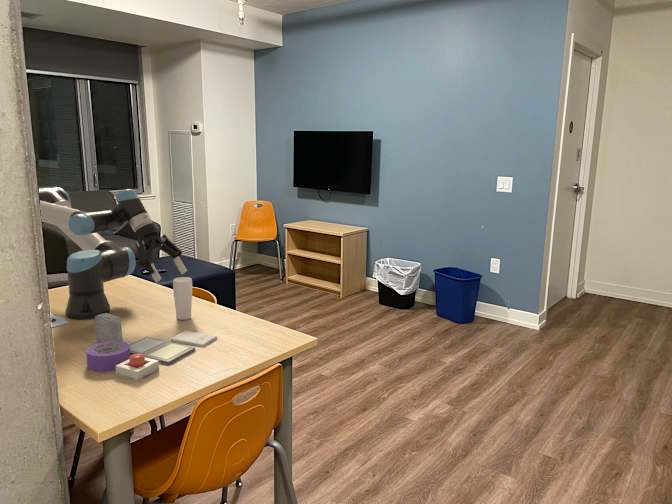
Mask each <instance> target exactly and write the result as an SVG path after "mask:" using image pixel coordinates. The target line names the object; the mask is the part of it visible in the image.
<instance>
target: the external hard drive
mask: <svg viewBox="0 0 672 504" xmlns="http://www.w3.org/2000/svg"><path fill="white" fill-rule="evenodd" d="M217 339H218V336H217V335H211V334H208V333H207V334H205V333H200V332H195V331H189V330H184V331H182V332H180V333H179V334H176V335H175V336H173V337H171V339H170V342H173V343H177V344H182V345H187V346H189V345H190V346H195V347H200V348H205V347H206V346H208V345H209V344H210V343H212V342H214V341H216V340H217Z"/></svg>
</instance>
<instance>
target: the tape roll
mask: <svg viewBox="0 0 672 504" xmlns="http://www.w3.org/2000/svg"><path fill="white" fill-rule="evenodd" d="M129 344H130V343H129V342H126V341H106V342H98V343H95V344H91V346H88V348H86V365H87V369H88V370H89V371H92V372H99V373H106V372H107V373H108V372H114V371H115V372H116V365H118V364H120V363H122V362H124V361H126V360H128V359H129V357H130V356H131V355H130V345H129Z"/></svg>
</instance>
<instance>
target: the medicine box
mask: <svg viewBox="0 0 672 504" xmlns="http://www.w3.org/2000/svg"><path fill="white" fill-rule="evenodd" d="M94 325H95V339H96V341H97V342H98V343H101V342H106V341H123V329H122V318H121V317H120V316H117V315H114V314H111V313H109V314H108V313H104V314H100V315H97V316H95V319H94ZM123 342H124V341H123Z"/></svg>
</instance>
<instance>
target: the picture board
mask: <svg viewBox="0 0 672 504" xmlns="http://www.w3.org/2000/svg"><path fill="white" fill-rule="evenodd" d="M128 344H129V345H130V356H131V355H133V354H144V355H145V357H146V358H150V359H154V360H158V361H159V364H164V365H167V366H170V365H171V364H173V363H175V362H177V361H178V360H181V359H182V358H184V357H186V356H187V355H190V354H192V353H193V352H195V351H196V347H193V346H191V345H190V346H189V345H187V344H182V343H177V342H171V341H169V340H164V339H159V338H155V337H150V336H144V337H142V338H140V339H138V340H135V341H133V342H131V343H128Z"/></svg>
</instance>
